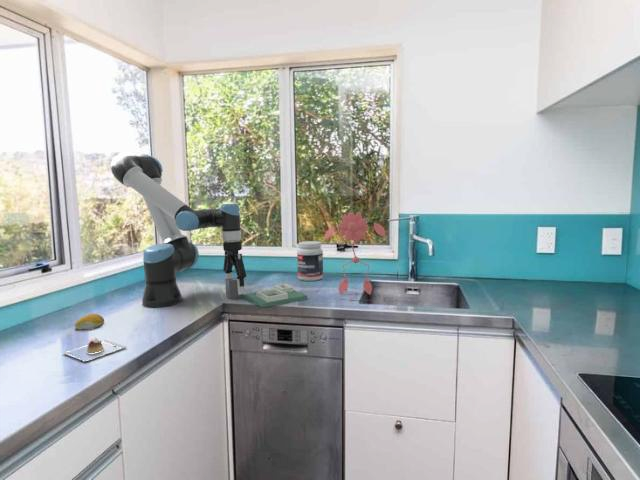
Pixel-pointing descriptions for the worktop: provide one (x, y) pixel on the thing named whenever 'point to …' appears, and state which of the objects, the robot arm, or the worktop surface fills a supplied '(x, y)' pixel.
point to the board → (275, 296)
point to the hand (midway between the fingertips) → (235, 291)
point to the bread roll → (89, 322)
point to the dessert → (96, 347)
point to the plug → (232, 289)
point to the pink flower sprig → (354, 231)
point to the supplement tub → (310, 261)
